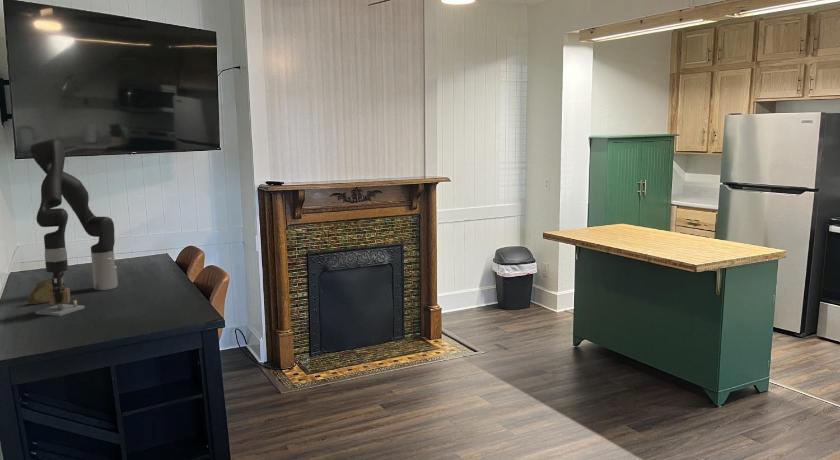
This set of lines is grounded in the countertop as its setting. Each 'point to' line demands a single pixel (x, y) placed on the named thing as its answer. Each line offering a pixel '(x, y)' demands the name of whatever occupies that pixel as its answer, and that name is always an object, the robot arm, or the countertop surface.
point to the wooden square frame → (65, 296)
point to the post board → (60, 309)
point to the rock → (41, 293)
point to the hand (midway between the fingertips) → (60, 300)
